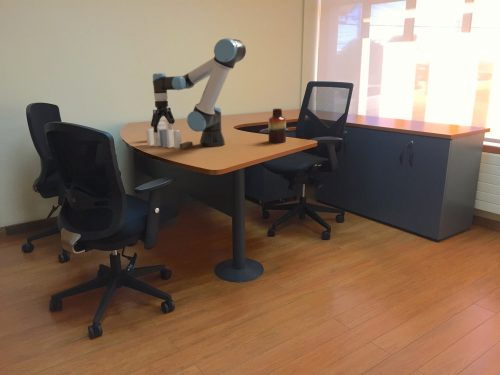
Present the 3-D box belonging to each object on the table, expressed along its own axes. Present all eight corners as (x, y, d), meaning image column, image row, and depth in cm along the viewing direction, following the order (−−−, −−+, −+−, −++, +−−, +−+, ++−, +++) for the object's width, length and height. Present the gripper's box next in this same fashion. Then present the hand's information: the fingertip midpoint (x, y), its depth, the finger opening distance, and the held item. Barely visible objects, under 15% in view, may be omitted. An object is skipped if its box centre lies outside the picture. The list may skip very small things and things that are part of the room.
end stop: (192, 146, 253) (192, 141, 252) (184, 149, 246) (183, 144, 245) (188, 146, 255) (188, 141, 254) (179, 149, 247) (179, 144, 246)
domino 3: (167, 145, 259) (166, 129, 256) (162, 146, 254) (161, 130, 252) (165, 145, 259) (164, 129, 257) (160, 146, 255) (159, 130, 252)
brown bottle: (270, 143, 260) (270, 110, 254) (267, 140, 270) (267, 108, 264) (287, 142, 262) (287, 109, 256) (283, 139, 272) (283, 107, 266)
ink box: (162, 139, 281) (161, 121, 278) (167, 139, 278) (166, 121, 274) (152, 141, 274) (150, 122, 271) (157, 141, 271) (155, 123, 268)
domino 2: (161, 144, 261) (160, 128, 258) (156, 146, 256) (155, 129, 254) (159, 144, 261) (158, 128, 259) (154, 146, 257) (152, 129, 254)
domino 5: (181, 146, 254) (180, 130, 252) (176, 148, 250) (175, 131, 247) (179, 146, 255) (178, 129, 252) (174, 147, 251) (173, 131, 248)
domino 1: (154, 144, 263) (153, 128, 260) (149, 145, 259) (148, 129, 256) (152, 144, 264) (151, 128, 261) (147, 145, 259) (146, 129, 256)
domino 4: (174, 146, 257) (173, 129, 254) (169, 147, 252) (168, 130, 249) (172, 145, 257) (171, 129, 254) (167, 147, 253) (166, 130, 250)
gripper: (168, 98, 261) (171, 132, 267) (142, 102, 240) (145, 139, 246) (178, 98, 258) (181, 133, 264) (152, 102, 237) (156, 139, 243)
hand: (164, 136), depth 255 cm, fingers open, 13 cm apart
